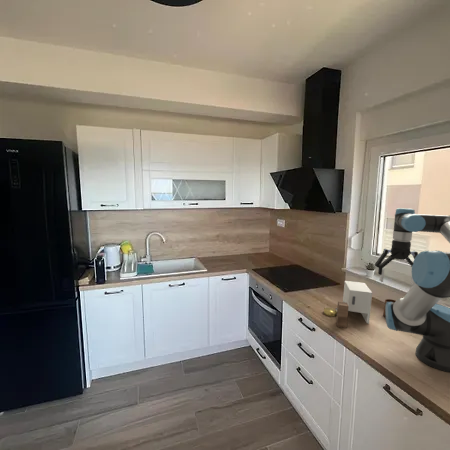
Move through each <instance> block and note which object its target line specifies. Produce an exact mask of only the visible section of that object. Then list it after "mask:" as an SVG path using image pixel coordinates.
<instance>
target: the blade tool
mask: <svg viewBox="0 0 450 450" xmlns="http://www.w3.org/2000/svg"><path fill="white" fill-rule="evenodd" d="M348 308H349V306H348V304H347V303H346V302H343V301H337V307H335V310H337V316H336V318H335V319H336V321H335V322H336V323H335V324H336V326H337V328H344V329H347V328H348V320H349V319H348V317H349V311H348Z"/></svg>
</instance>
